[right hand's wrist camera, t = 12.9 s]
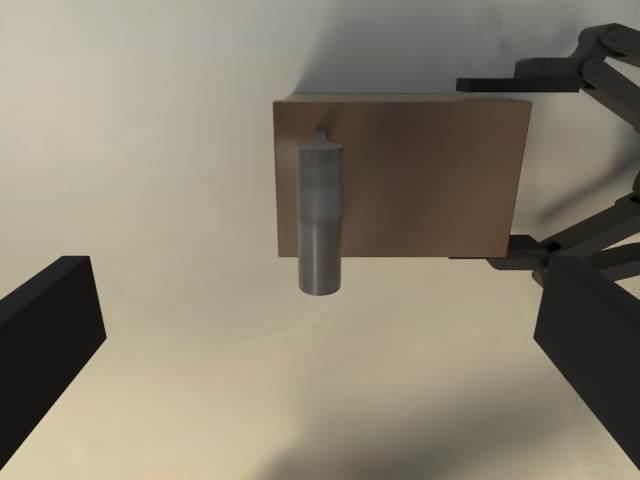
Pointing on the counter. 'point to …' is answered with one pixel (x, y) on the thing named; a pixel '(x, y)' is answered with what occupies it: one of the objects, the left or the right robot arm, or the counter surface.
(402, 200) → the lid
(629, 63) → the left robot arm
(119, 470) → the counter surface
